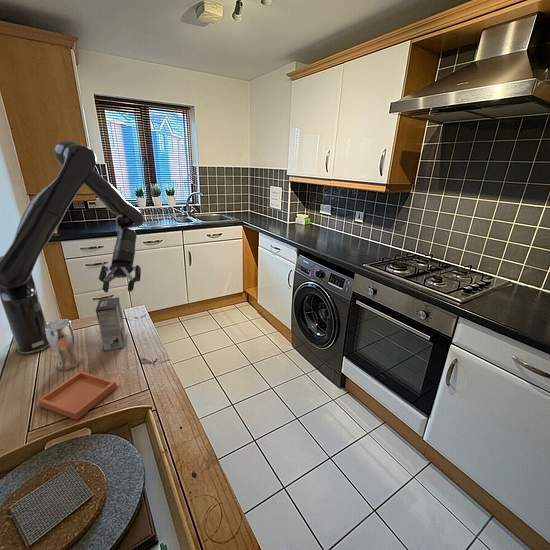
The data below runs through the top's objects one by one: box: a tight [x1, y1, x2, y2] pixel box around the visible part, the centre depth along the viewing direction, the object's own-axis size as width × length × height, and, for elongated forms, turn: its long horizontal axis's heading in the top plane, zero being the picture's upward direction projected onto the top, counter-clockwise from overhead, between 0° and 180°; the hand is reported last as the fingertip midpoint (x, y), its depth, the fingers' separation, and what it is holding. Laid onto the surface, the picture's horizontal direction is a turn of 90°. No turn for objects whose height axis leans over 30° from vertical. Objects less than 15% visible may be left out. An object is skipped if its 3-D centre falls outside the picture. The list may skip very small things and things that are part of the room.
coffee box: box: [95, 296, 127, 351], centre depth 104 cm, size 9×6×16 cm
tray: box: [37, 370, 118, 421], centre depth 81 cm, size 14×13×2 cm
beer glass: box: [44, 318, 81, 371], centre depth 92 cm, size 7×7×15 cm
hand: (117, 291), depth 109 cm, fingers open, 8 cm apart
